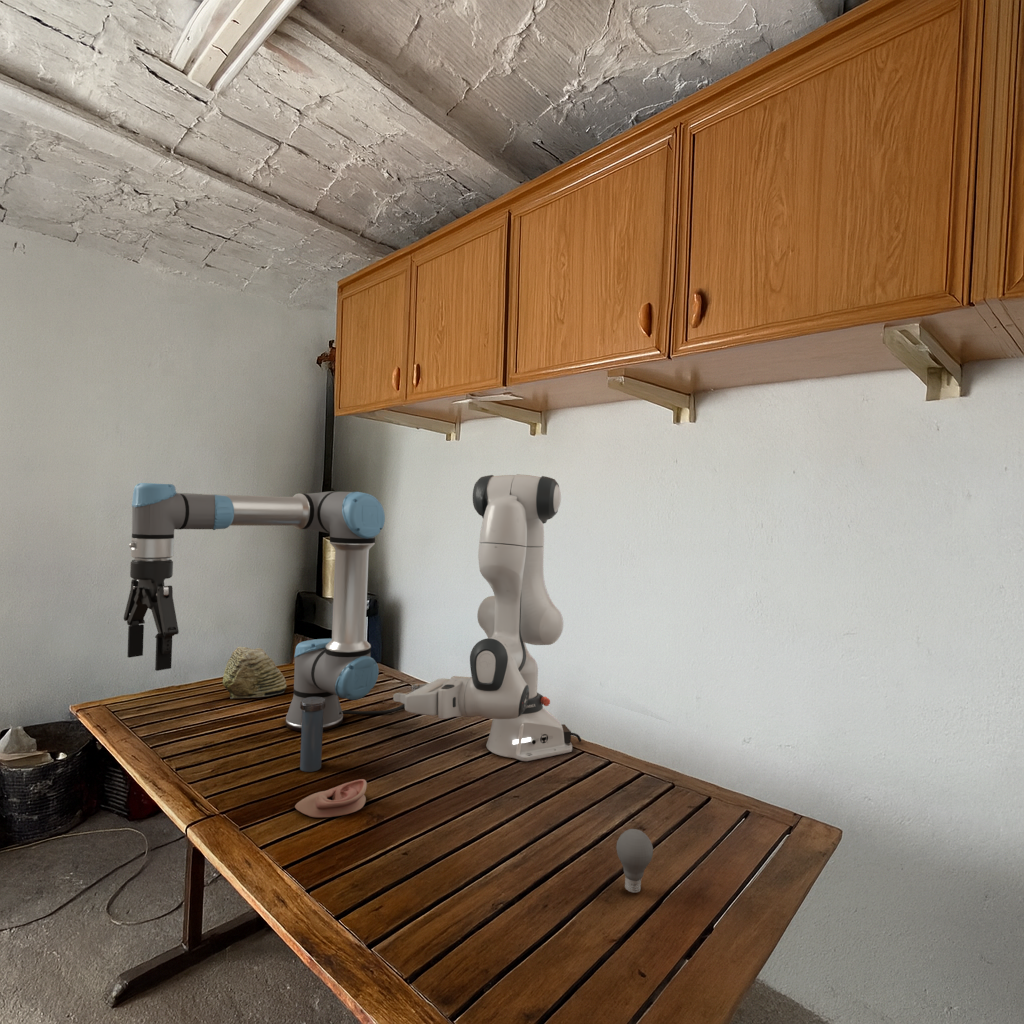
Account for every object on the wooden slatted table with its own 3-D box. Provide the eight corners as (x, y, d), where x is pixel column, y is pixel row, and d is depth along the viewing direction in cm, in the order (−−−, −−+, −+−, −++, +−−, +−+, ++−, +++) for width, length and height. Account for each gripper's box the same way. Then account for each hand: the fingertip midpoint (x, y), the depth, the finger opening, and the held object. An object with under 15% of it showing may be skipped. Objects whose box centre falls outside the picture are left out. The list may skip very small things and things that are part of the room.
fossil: (218, 695, 195) (220, 647, 195) (278, 685, 208) (279, 640, 207) (228, 703, 189) (230, 653, 188) (289, 692, 201) (290, 645, 201)
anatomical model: (287, 793, 126) (316, 770, 137) (286, 813, 126) (315, 788, 137) (349, 803, 123) (373, 778, 134) (348, 823, 123) (373, 796, 134)
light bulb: (610, 879, 108) (613, 822, 108) (644, 879, 109) (647, 822, 109) (619, 902, 102) (622, 840, 102) (655, 901, 103) (658, 840, 103)
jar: (298, 764, 149) (301, 700, 149) (319, 762, 151) (322, 698, 151) (301, 773, 145) (303, 706, 144) (322, 770, 147) (325, 704, 146)
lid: (298, 705, 149) (299, 697, 149) (323, 702, 151) (323, 695, 151) (301, 712, 144) (302, 705, 144) (327, 710, 146) (327, 702, 146)
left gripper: (108, 554, 134) (104, 654, 134) (159, 565, 118) (155, 678, 119) (146, 552, 140) (143, 648, 140) (199, 563, 124) (195, 671, 124)
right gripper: (474, 673, 156) (422, 670, 159) (442, 691, 136) (384, 687, 140) (473, 700, 155) (422, 696, 159) (442, 721, 136) (383, 716, 139)
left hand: (148, 662), depth 129 cm, fingers open, 13 cm apart
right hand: (403, 692), depth 149 cm, fingers open, 8 cm apart
